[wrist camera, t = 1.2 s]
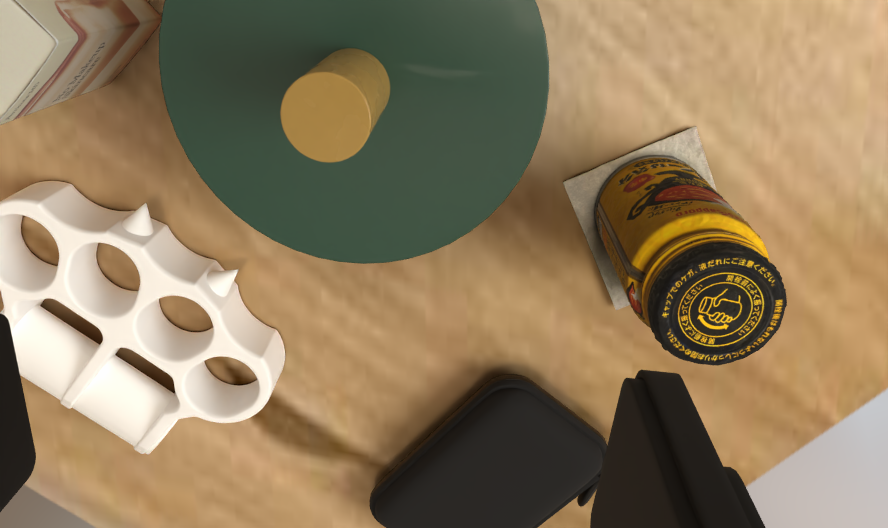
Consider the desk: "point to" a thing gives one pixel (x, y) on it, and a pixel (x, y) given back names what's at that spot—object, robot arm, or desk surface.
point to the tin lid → (357, 115)
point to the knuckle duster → (127, 319)
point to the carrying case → (495, 464)
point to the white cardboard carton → (65, 48)
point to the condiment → (679, 252)
